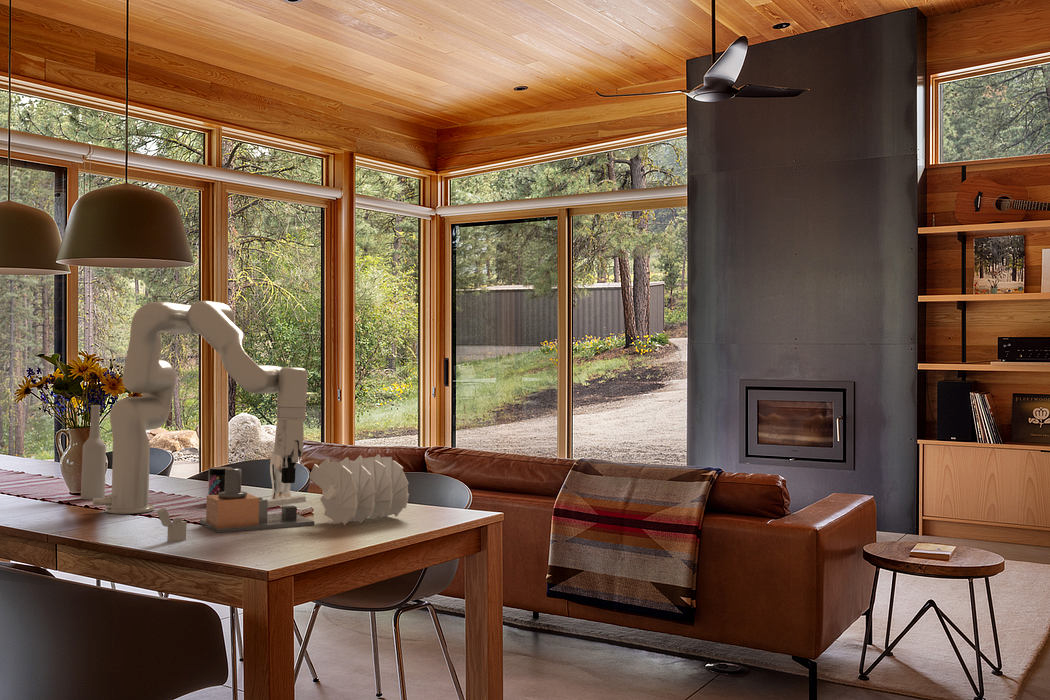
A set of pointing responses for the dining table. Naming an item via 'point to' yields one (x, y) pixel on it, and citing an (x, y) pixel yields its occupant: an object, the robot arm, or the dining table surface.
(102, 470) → the bottle
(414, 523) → the dining table surface
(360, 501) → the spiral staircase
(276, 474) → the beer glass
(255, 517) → the base
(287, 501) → the latch lever
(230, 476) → the steel pin
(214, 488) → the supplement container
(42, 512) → the dining table surface
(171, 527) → the lighter
